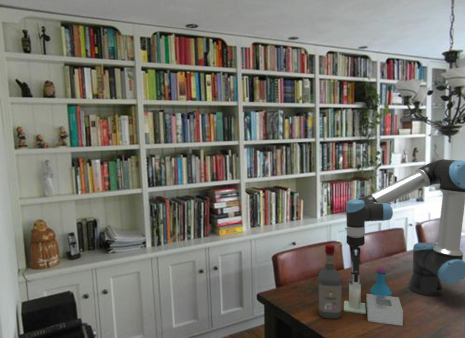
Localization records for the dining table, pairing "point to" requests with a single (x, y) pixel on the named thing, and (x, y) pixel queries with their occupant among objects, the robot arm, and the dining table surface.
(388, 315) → the housing
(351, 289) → the salt shaker
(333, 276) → the liquor
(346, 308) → the mat
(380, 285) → the perfume bottle
